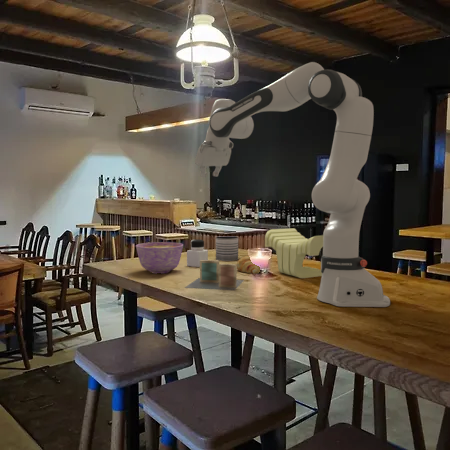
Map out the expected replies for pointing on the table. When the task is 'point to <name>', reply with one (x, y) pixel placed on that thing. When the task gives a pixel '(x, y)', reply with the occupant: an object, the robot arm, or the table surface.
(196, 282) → the board
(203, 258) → the medicine bottle
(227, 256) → the can
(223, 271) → the tile
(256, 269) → the croissant
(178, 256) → the purple bowl
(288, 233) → the slatted curved stool
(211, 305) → the table surface
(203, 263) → the tile
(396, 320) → the table surface
